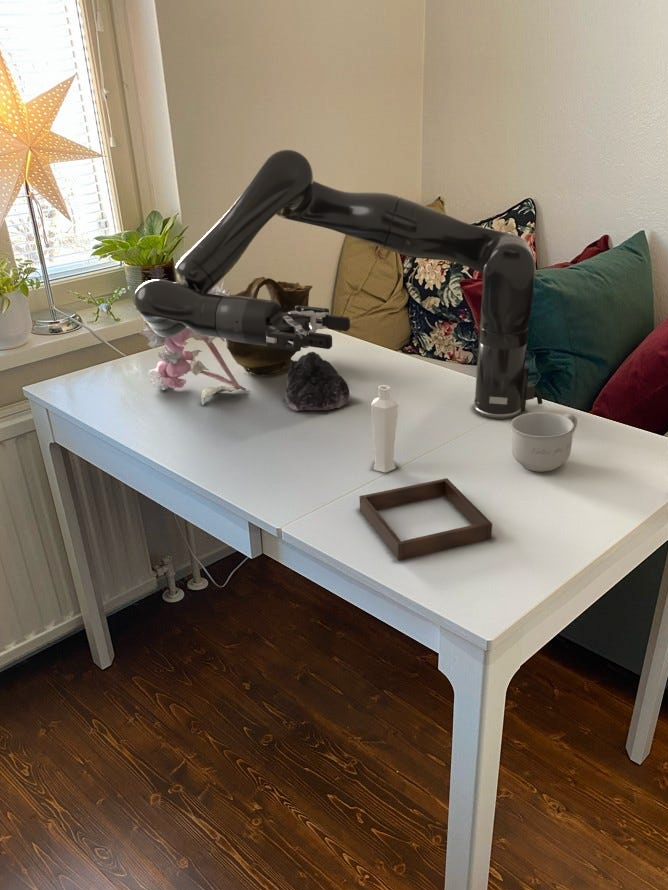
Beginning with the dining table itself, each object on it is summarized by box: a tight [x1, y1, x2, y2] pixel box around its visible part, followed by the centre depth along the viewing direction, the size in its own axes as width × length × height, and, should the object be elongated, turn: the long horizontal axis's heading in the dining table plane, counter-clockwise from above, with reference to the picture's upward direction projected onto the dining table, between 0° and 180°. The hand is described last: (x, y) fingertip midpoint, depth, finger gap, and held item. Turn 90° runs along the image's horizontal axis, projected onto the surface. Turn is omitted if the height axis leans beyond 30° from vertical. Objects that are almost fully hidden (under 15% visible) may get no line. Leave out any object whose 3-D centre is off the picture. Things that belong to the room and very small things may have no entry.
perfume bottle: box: [370, 384, 399, 474], centre depth 150 cm, size 5×4×15 cm
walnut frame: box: [359, 477, 493, 561], centre depth 137 cm, size 16×16×3 cm
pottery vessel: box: [225, 276, 314, 377], centre depth 188 cm, size 25×11×20 cm, turn 138°
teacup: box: [510, 411, 578, 473], centre depth 154 cm, size 14×11×8 cm
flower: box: [136, 278, 247, 406], centre depth 177 cm, size 20×22×25 cm
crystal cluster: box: [284, 351, 351, 412], centre depth 176 cm, size 13×14×10 cm
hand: (340, 333), depth 143 cm, fingers open, 8 cm apart
